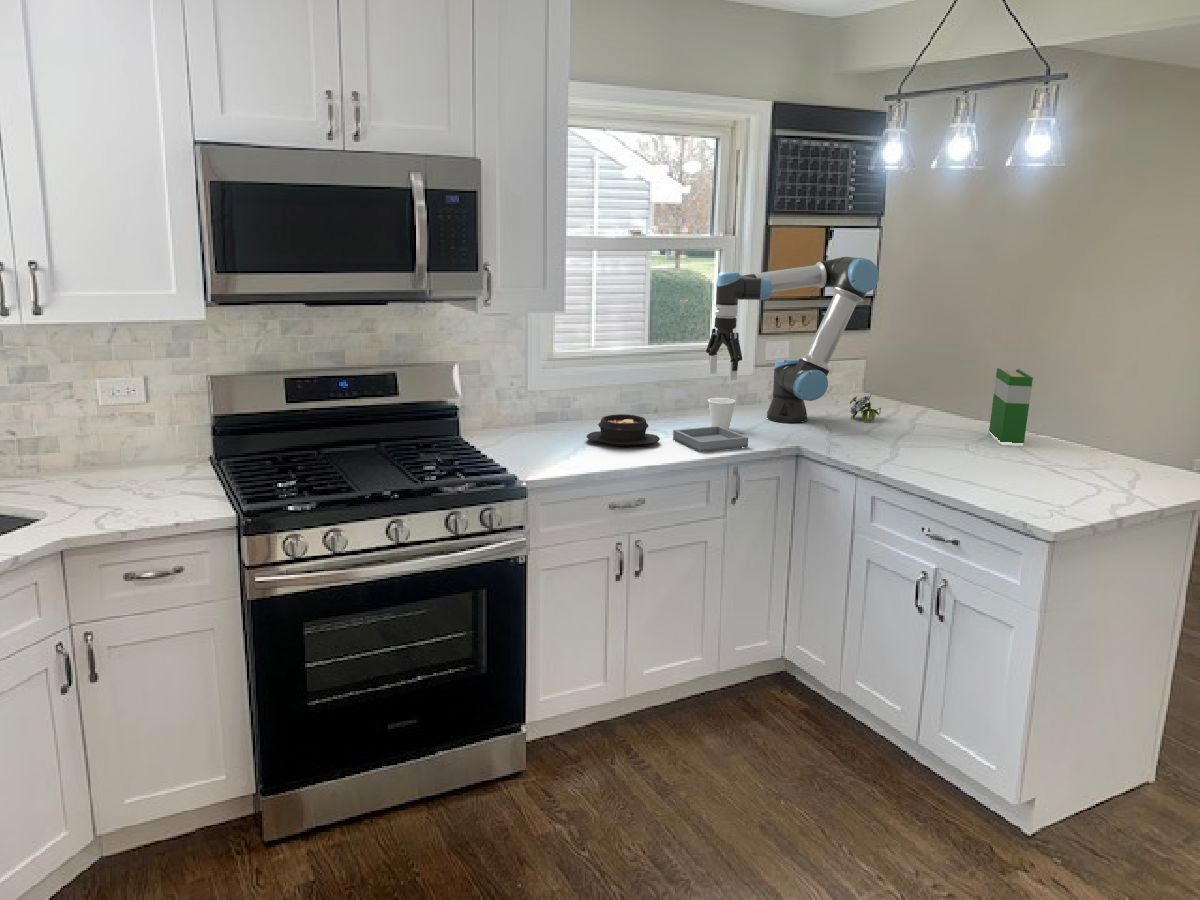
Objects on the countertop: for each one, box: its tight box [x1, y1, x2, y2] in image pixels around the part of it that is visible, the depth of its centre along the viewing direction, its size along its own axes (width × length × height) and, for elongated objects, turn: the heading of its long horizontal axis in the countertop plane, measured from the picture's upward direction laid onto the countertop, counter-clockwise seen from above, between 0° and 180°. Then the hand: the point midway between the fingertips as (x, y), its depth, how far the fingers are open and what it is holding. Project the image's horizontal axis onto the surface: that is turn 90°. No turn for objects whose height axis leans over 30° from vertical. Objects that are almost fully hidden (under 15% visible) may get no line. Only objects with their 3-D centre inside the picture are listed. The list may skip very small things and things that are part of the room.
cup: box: [707, 397, 737, 430], centre depth 323 cm, size 10×10×11 cm
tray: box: [672, 426, 749, 453], centre depth 304 cm, size 18×18×4 cm
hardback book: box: [988, 367, 1034, 444], centre depth 313 cm, size 18×7×24 cm, turn 169°
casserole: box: [586, 413, 661, 447], centre depth 303 cm, size 25×19×8 cm
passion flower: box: [849, 393, 882, 422], centre depth 345 cm, size 11×11×12 cm
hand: (722, 376), depth 319 cm, fingers open, 13 cm apart
